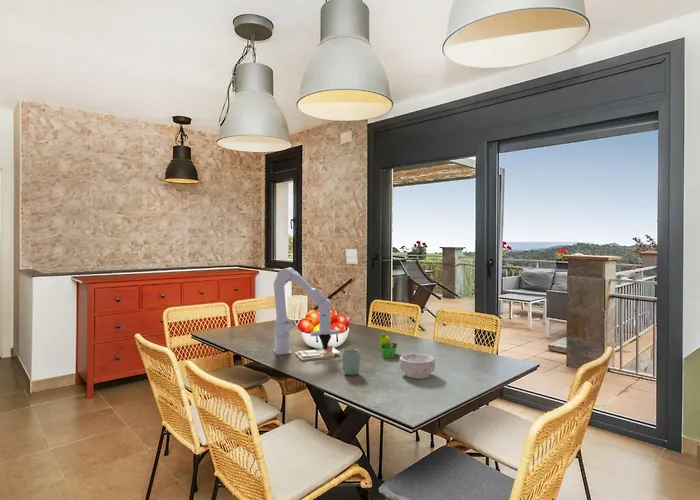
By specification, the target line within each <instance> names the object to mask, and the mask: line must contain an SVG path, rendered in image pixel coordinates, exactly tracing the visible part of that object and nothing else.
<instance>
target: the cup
mask: <svg viewBox="0 0 700 500" xmlns="http://www.w3.org/2000/svg"><path fill="white" fill-rule="evenodd" d="M341 357H342V370H343V373H344V374H346V376H355V375H357V374H359V372H360V368H361V350H358V349H355V348H354V349H353V348H349V349H343V350H342V356H341Z"/></svg>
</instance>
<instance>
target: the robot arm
mask: <svg viewBox="0 0 700 500" xmlns="http://www.w3.org/2000/svg"><path fill="white" fill-rule="evenodd" d="M288 282H293V283H296V284H298V285H299V286H300V287H301V288H302V289H303V290H304V291H305V292H306V293H307V296H308V298H310V300H312V302H313V303H314V304H315V305H317V308H318V310H319V314H318V316H319V321H318V323H319V324H318V325H319V326H318V327H319V330H317V331H316V330H315V331H310V336H311V337H317V336H318V338H319V339H320V342H321V345H322V349H324V350H327V345H328V344H329V342H330V340H331V338H332V335H340V330H339V329H331V327H332V326H331V325H332V324H331V322H332V321H331V318H332V317H331V316H332V315H331V307H332V304H333V303H332V301H331V299H330V298H327V296H326V295H324V294H323V293H322V292H321V290H320V289H319V288H316V287H312V286H311V285H310V284H309V282H308V281H306V280H305V278H304V277H303V276H302V275H301V274H300V273H299V272H298V271H296V270H295V269H294V267H287V268H282V269H280V270H279V271H278V272H277V274H276V277H275V279H274V282H273V293H274V303H275V304H274V305H275V311H276V312H275V315H276V318H275V321H274V328H273V332H274V334H275V337H274V348H273V349H272V351H273V352H274V354H276V355H277V356H278V355H288V354H292V353H293V352H292V350H290V346H291V345H290V343H291V342H290V340H291V338H290V336H291V335H290V331H291V329H292V325H291V323H290V320H289V319H290V318H289V317H288V315H287V305H286V293H285V286H286V285H287V283H288Z"/></svg>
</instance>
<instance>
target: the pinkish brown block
mask: <svg viewBox="0 0 700 500" xmlns="http://www.w3.org/2000/svg"><path fill="white" fill-rule="evenodd" d="M322 349H323V348H322ZM323 350H324V349H323ZM324 351H325V352H327V353H328V354H329V355H334V356H335V355H341V351H339V350H338V349H336V348H335V347H333V345H332V344H330V343H328V345H327V350H324Z"/></svg>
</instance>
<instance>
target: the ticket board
mask: <svg viewBox="0 0 700 500" xmlns="http://www.w3.org/2000/svg"><path fill="white" fill-rule="evenodd" d="M293 354H294V356H296V357H297V359H298V360H300V361H301V362H309V361H317V360H318V361H319V360H327V359H336V356H335V355H329V354H328V353H327V352H325V351H324V350H323V348H322V349H309V350H300V351H299V350H298V351H294V353H293Z"/></svg>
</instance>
